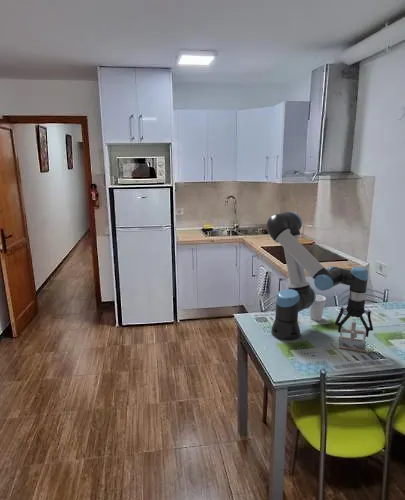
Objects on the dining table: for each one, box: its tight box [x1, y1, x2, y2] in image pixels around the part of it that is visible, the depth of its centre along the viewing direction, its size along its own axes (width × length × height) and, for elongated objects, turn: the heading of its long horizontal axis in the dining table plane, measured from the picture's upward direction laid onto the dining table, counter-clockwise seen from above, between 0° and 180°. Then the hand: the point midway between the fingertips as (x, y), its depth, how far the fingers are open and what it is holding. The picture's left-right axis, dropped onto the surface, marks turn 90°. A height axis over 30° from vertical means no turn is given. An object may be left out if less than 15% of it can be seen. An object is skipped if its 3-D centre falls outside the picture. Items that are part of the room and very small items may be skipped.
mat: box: [338, 335, 366, 354], centre depth 178 cm, size 12×12×1 cm
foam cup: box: [308, 294, 327, 321], centre depth 208 cm, size 10×9×13 cm
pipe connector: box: [342, 321, 364, 342], centre depth 176 cm, size 10×10×10 cm
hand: (352, 340), depth 177 cm, fingers closed on pipe connector, 10 cm apart
